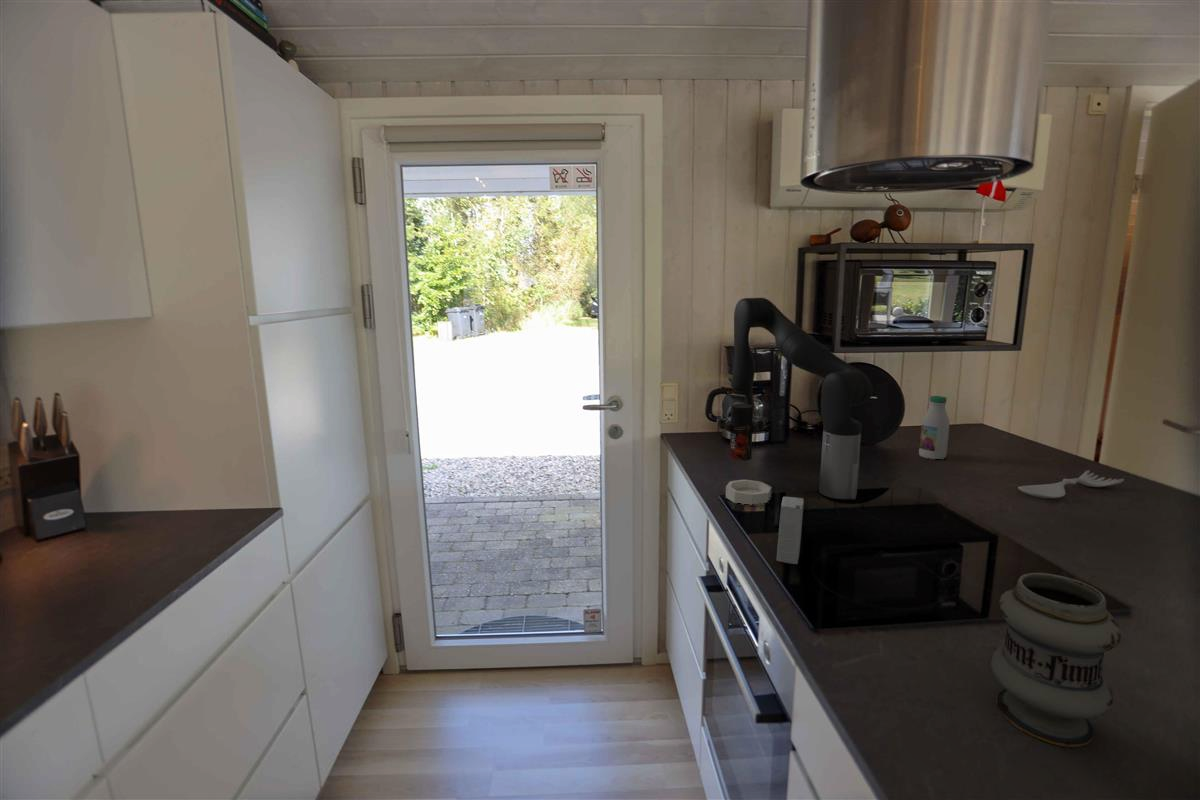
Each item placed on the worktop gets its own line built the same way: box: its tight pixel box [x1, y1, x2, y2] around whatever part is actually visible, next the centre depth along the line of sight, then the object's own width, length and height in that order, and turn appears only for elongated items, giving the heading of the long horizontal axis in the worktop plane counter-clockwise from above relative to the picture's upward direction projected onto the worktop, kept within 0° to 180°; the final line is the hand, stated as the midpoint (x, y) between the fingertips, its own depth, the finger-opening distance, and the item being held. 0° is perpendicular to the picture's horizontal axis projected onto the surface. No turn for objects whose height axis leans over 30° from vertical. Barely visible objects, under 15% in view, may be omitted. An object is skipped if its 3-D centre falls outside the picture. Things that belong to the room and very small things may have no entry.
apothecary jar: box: [990, 572, 1122, 748], centre depth 71 cm, size 12×12×18 cm
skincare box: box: [775, 496, 805, 565], centre depth 115 cm, size 6×4×12 cm
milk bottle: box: [918, 395, 950, 460], centre depth 183 cm, size 8×8×20 cm
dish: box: [725, 479, 772, 506], centre depth 150 cm, size 11×11×3 cm
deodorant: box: [729, 404, 754, 462], centre depth 159 cm, size 6×6×15 cm
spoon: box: [1017, 469, 1125, 499], centre depth 152 cm, size 9×32×4 cm, turn 110°
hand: (741, 428), depth 156 cm, fingers closed on deodorant, 6 cm apart
